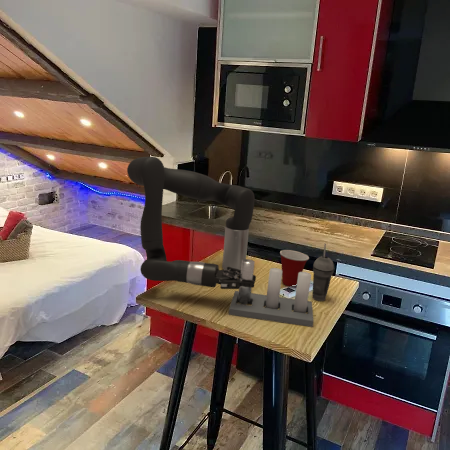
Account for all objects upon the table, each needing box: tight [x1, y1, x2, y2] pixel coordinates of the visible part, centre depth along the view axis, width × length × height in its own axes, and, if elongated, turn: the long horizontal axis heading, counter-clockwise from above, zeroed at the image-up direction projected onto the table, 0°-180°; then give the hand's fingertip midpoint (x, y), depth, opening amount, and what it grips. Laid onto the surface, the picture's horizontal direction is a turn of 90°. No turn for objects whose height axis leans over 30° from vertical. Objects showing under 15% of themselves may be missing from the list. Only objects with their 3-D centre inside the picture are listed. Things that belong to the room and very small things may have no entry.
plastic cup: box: [279, 249, 310, 287], centre depth 161 cm, size 11×11×12 cm
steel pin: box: [237, 258, 255, 305], centre depth 138 cm, size 4×4×14 cm
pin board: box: [228, 267, 314, 328], centre depth 138 cm, size 14×26×14 cm, turn 81°
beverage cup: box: [312, 243, 335, 302], centre depth 149 cm, size 7×7×20 cm
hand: (254, 281), depth 138 cm, fingers closed on steel pin, 4 cm apart
